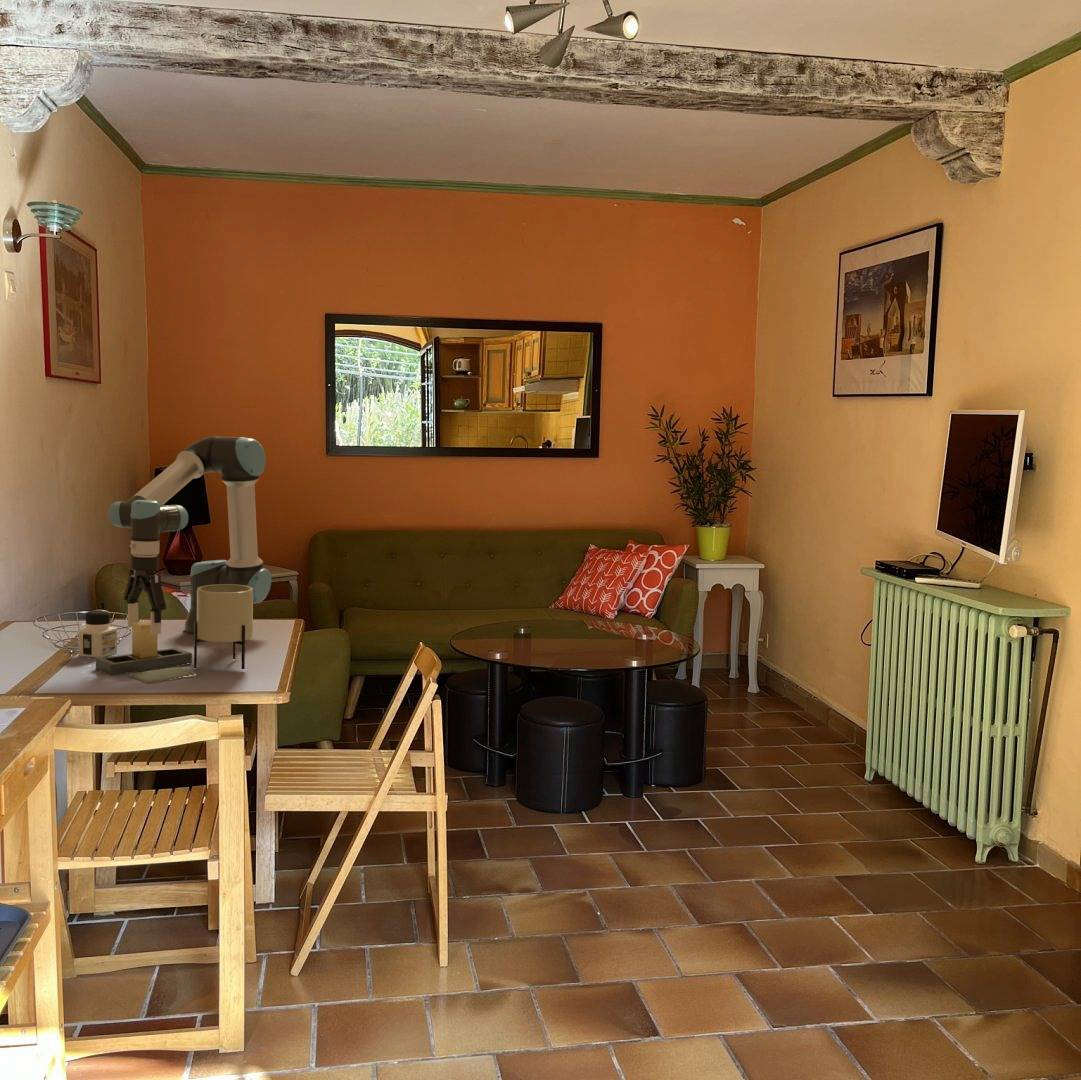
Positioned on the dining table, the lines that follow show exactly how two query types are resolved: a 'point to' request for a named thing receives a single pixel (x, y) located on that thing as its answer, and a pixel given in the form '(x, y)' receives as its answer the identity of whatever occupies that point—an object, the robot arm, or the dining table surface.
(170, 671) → the mat
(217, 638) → the planter
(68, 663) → the dining table surface
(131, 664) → the grey compartment tray
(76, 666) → the dining table surface
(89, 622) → the container
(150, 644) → the wooden block
